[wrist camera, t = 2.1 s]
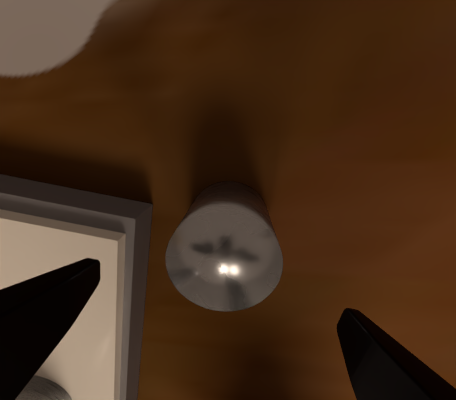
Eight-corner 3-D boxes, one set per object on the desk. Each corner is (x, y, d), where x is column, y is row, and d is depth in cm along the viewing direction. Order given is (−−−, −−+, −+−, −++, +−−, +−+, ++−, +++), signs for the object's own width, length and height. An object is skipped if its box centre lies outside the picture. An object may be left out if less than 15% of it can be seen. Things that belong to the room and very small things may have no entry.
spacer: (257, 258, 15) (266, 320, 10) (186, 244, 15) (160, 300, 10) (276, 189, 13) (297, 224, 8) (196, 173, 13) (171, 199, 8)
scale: (137, 399, 20) (107, 476, 16) (-32, 367, 20) (-110, 436, 15) (152, 204, 14) (110, 240, 9) (-96, 155, 13) (-261, 168, 9)
